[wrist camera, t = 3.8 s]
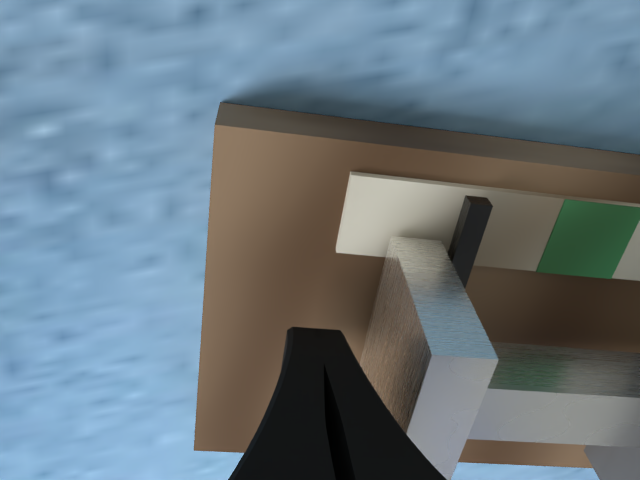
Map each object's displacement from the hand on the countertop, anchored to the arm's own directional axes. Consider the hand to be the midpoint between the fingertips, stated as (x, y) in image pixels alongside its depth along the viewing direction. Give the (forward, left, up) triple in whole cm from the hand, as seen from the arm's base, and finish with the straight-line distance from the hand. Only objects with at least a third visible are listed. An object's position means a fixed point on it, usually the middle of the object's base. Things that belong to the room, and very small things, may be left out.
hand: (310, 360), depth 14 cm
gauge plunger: (-6, -1, -1) cm, 6 cm away
